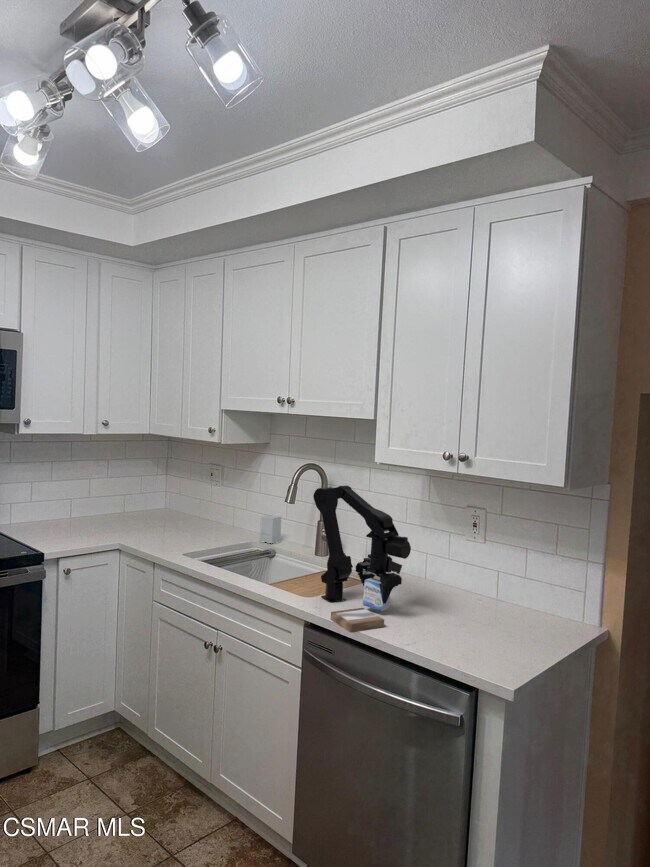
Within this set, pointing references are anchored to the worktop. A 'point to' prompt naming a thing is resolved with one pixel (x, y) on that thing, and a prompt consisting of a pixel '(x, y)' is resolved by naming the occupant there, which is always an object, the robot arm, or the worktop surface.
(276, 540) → the supplement box
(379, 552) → the robot arm
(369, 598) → the medicine box
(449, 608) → the worktop surface
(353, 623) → the brown open-top box
